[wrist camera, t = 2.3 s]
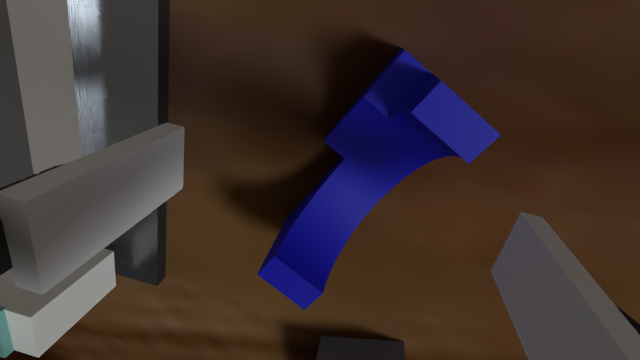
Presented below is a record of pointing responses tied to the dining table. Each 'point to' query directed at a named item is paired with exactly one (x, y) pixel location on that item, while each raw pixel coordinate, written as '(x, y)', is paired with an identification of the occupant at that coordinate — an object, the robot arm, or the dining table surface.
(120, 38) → the rail
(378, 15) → the dining table surface
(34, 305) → the mounted modules
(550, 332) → the robot arm
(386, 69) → the cable clip
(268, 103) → the dining table surface
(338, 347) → the block
